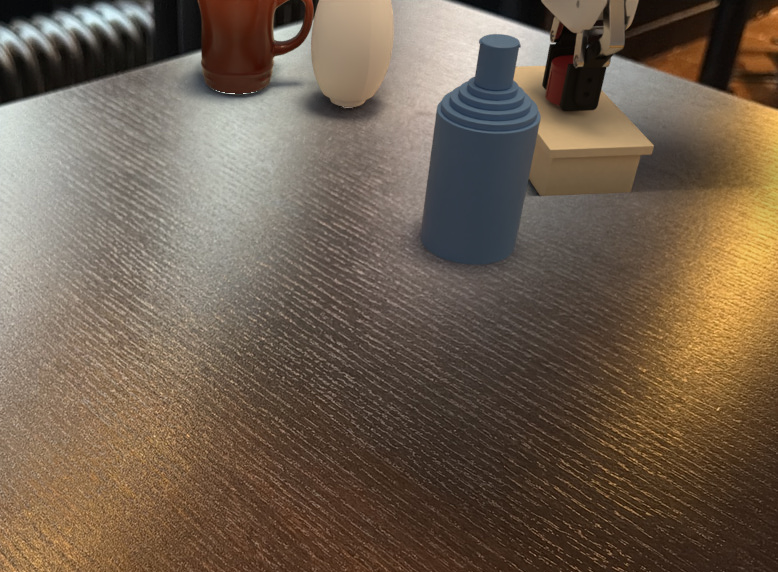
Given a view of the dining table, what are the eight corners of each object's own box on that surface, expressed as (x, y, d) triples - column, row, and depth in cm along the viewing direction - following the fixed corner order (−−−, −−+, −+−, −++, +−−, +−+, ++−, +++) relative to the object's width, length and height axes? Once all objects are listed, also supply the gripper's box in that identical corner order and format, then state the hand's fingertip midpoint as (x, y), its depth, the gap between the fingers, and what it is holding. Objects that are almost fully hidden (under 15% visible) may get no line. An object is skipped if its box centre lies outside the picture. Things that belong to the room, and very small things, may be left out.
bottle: (496, 233, 81) (535, 20, 70) (523, 281, 75) (570, 58, 65) (408, 237, 80) (435, 23, 70) (429, 285, 75) (461, 61, 64)
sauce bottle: (371, 126, 97) (388, -73, 85) (296, 112, 99) (304, -83, 88) (396, 97, 102) (416, -94, 91) (325, 84, 105) (336, -103, 93)
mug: (195, 102, 101) (192, -3, 95) (195, 69, 108) (193, -30, 101) (313, 101, 101) (318, -3, 95) (306, 68, 108) (311, -31, 102)
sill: (567, 114, 99) (577, 64, 96) (639, 200, 85) (654, 145, 82) (480, 117, 99) (488, 67, 95) (538, 204, 85) (550, 149, 82)
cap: (553, 108, 87) (560, 72, 85) (538, 90, 90) (545, 55, 88) (597, 106, 87) (606, 71, 85) (581, 88, 90) (589, 54, 88)
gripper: (534, -152, 83) (499, 65, 95) (609, -104, 70) (558, 141, 82) (622, -154, 84) (576, 62, 95) (712, -106, 71) (647, 137, 82)
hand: (568, 96), depth 88 cm, fingers closed on cap, 3 cm apart
